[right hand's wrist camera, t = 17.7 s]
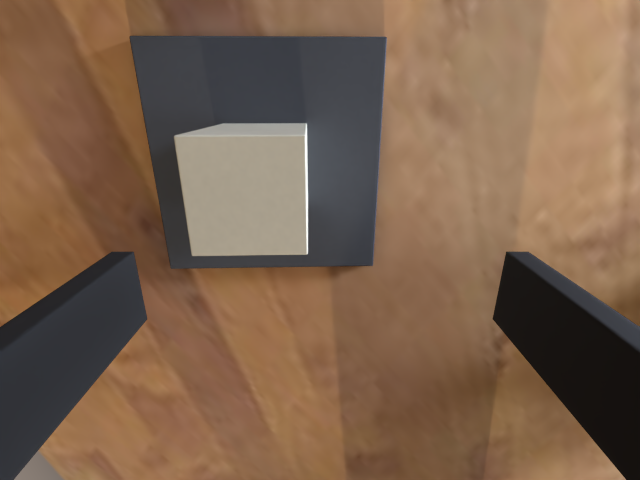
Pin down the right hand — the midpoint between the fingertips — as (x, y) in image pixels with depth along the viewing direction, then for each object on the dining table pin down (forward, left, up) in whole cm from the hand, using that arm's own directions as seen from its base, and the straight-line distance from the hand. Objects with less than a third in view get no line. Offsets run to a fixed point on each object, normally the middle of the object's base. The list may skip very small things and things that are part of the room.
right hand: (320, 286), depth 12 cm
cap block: (+3, -2, -11) cm, 11 cm away
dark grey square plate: (+3, -2, -11) cm, 12 cm away
